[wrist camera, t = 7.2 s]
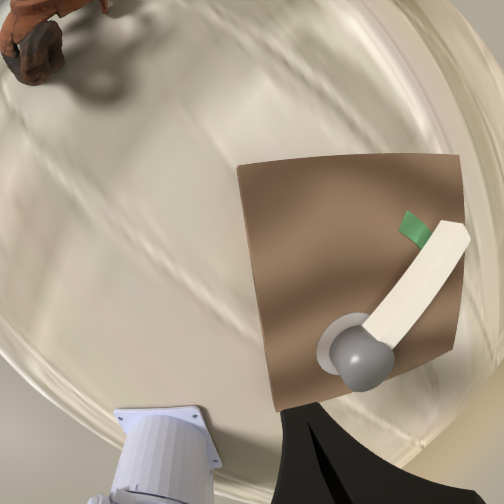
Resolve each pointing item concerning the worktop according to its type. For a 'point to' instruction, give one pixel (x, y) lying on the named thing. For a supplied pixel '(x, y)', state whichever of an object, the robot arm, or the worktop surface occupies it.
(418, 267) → the peg lever
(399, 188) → the brown flat square board
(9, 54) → the pottery mug
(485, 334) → the worktop surface
